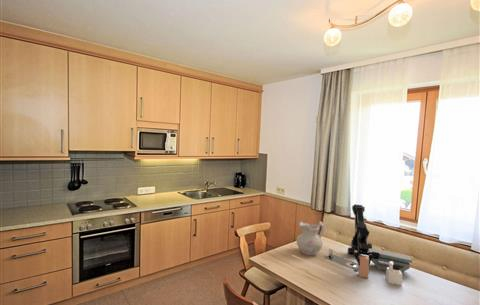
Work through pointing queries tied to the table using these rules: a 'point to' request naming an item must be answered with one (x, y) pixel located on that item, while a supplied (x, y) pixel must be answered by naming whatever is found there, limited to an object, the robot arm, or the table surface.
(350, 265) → the drilled plate
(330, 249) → the steel pin
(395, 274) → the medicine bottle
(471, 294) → the table surface
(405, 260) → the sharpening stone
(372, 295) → the table surface
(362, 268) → the post
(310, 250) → the ceramic pitcher
